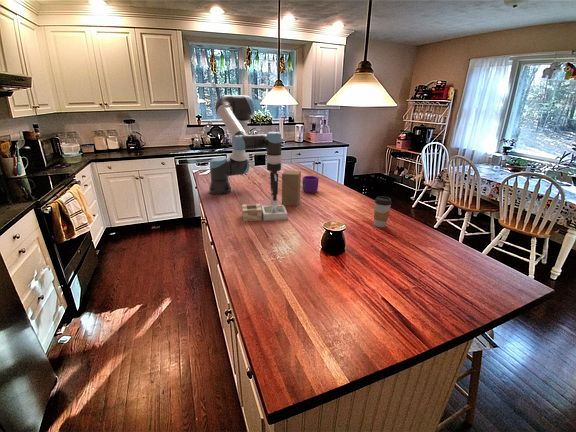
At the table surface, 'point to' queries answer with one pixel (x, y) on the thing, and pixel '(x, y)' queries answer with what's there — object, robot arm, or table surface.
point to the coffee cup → (381, 211)
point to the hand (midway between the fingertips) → (274, 204)
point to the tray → (270, 216)
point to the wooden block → (291, 187)
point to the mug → (310, 184)
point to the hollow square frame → (251, 212)
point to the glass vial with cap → (273, 208)
